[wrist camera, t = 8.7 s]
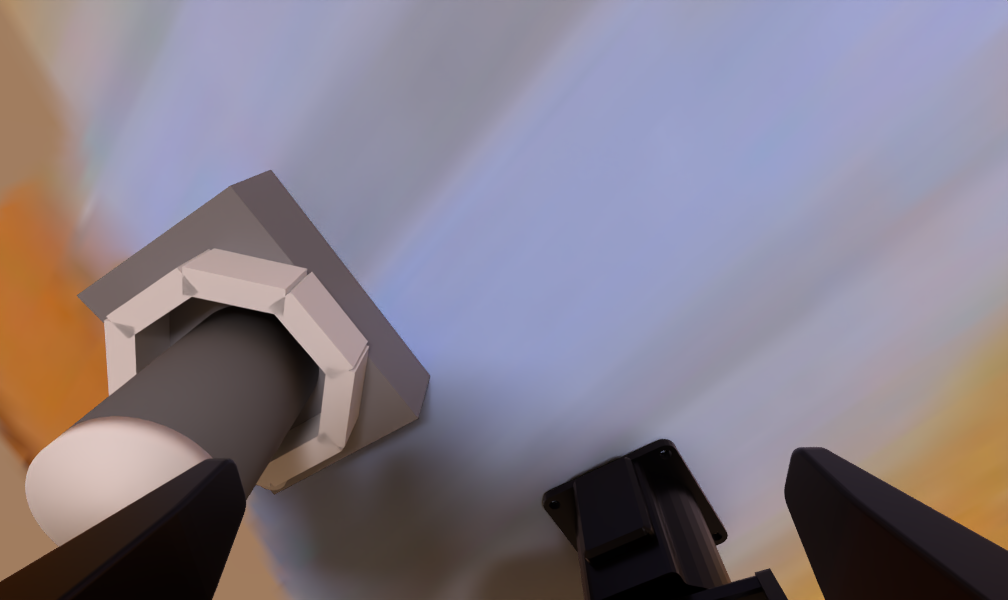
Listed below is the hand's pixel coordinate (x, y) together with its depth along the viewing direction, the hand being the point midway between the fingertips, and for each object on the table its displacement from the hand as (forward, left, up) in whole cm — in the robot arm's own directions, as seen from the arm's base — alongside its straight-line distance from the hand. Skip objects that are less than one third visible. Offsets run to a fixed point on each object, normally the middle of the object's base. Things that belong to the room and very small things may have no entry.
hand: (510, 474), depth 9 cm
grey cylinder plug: (+2, +9, -10) cm, 13 cm away
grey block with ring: (+2, +9, -12) cm, 16 cm away
